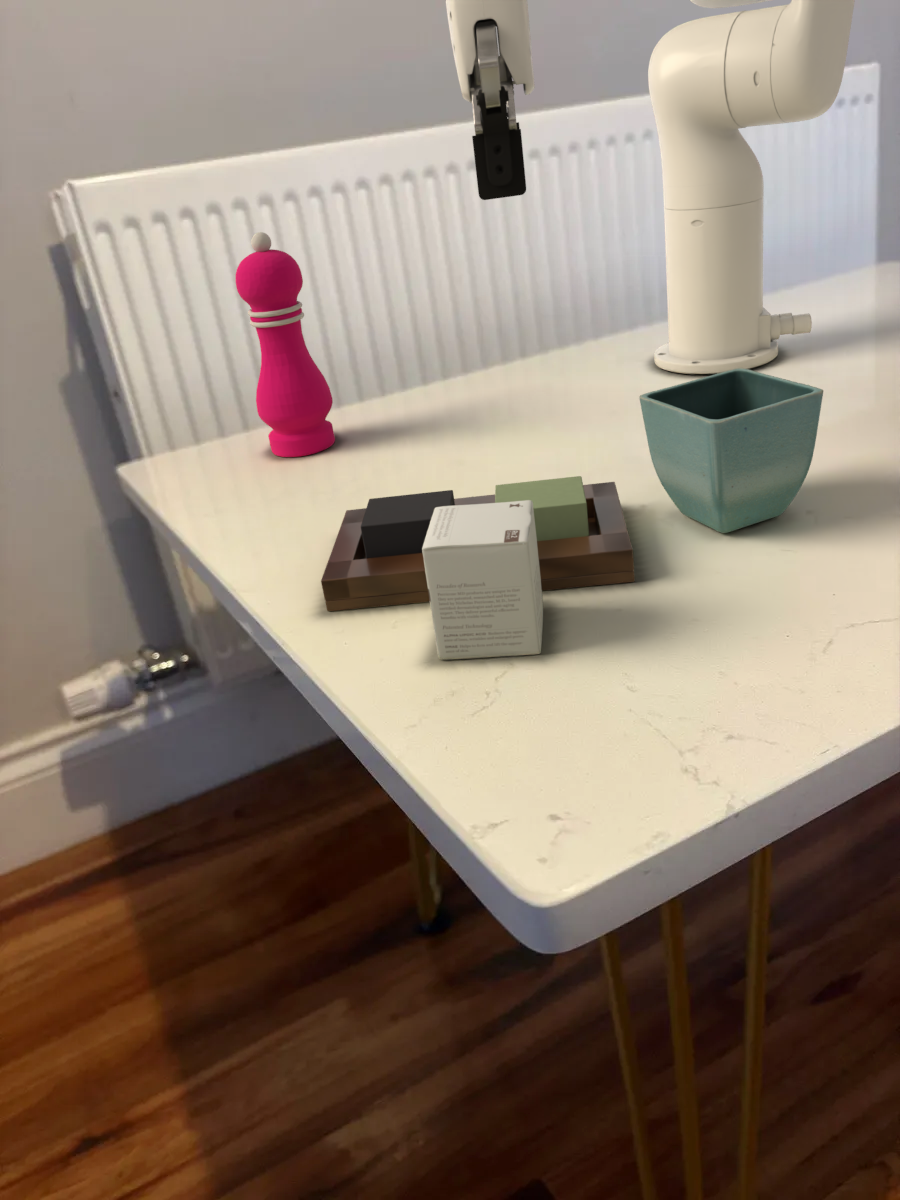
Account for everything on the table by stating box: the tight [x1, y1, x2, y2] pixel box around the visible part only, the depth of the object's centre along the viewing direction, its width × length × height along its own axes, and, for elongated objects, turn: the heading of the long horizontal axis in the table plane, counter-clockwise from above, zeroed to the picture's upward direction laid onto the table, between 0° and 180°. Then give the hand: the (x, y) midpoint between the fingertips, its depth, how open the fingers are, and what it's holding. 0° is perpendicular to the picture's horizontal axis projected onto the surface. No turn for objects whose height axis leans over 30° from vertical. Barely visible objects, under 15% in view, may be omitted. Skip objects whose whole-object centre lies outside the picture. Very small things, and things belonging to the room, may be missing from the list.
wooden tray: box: [320, 481, 636, 612], centre depth 71 cm, size 20×12×2 cm, turn 87°
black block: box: [361, 489, 455, 559], centre depth 71 cm, size 6×5×4 cm
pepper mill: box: [235, 231, 336, 458], centre depth 95 cm, size 7×7×20 cm
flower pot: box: [638, 368, 824, 534], centre depth 70 cm, size 9×9×9 cm
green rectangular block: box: [494, 475, 589, 541], centre depth 70 cm, size 6×5×4 cm
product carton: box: [422, 500, 544, 661], centre depth 60 cm, size 6×6×7 cm
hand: (503, 189), depth 74 cm, fingers open, 9 cm apart
